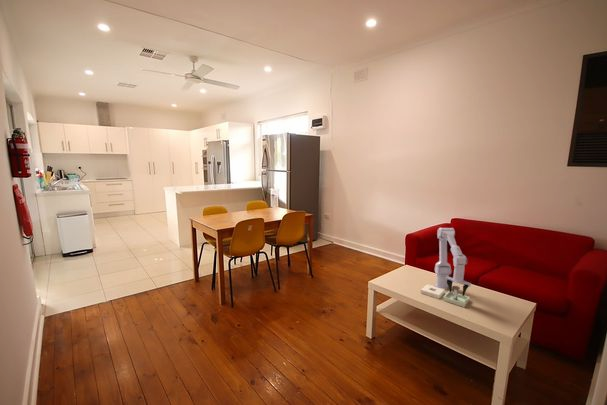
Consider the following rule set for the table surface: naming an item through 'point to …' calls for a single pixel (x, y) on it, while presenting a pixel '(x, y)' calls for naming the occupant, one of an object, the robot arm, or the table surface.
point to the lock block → (432, 291)
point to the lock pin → (455, 292)
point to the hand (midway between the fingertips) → (456, 293)
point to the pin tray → (460, 302)
